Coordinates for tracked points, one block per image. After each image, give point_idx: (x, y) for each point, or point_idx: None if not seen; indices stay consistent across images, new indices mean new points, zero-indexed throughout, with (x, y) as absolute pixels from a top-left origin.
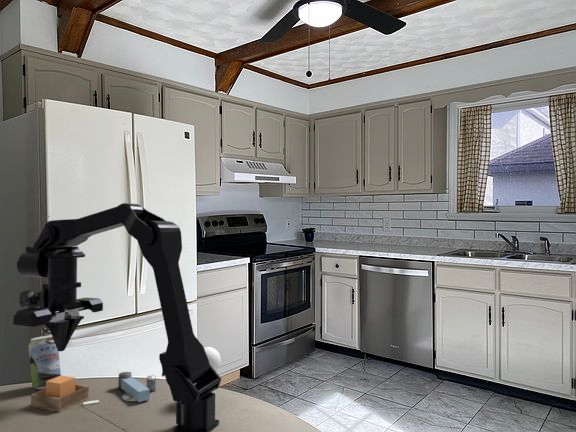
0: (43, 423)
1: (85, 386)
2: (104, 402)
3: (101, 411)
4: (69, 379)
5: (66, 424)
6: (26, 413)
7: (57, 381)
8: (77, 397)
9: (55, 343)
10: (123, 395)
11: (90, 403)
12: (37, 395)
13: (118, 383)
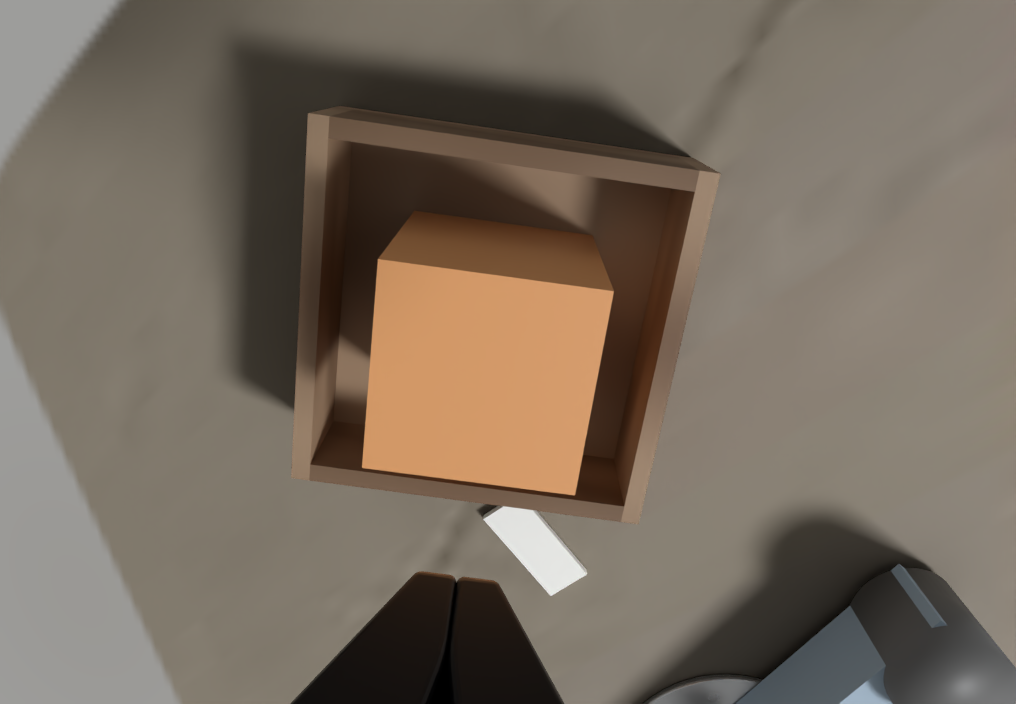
0: (127, 447)
1: (630, 499)
2: (570, 618)
3: None
4: (505, 473)
5: (175, 595)
6: (216, 181)
7: (411, 393)
8: None
9: (326, 677)
10: (700, 689)
11: (513, 553)
12: (305, 208)
13: (906, 582)
